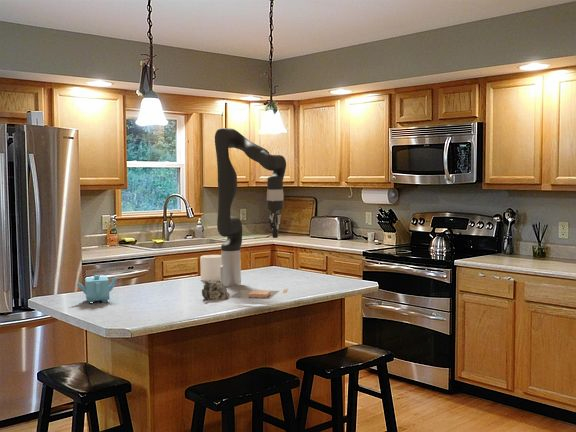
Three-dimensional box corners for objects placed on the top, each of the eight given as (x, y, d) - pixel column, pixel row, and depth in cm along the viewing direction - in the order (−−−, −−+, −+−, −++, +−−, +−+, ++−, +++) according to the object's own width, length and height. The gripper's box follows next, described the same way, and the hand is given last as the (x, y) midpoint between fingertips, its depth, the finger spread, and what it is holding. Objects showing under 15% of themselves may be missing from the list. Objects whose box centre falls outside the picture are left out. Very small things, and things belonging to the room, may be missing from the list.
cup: (222, 281, 322) (221, 257, 321) (199, 281, 322) (198, 257, 321) (225, 277, 333) (224, 254, 333) (202, 277, 334) (202, 254, 333)
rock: (200, 306, 269) (213, 289, 267) (194, 292, 277) (207, 275, 274) (225, 315, 277) (238, 297, 274) (219, 300, 284) (231, 284, 282)
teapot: (76, 299, 280) (75, 274, 279) (118, 296, 286) (117, 271, 285) (78, 306, 265) (77, 279, 264) (122, 303, 271) (121, 276, 270)
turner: (281, 291, 294) (281, 288, 293) (291, 291, 293) (291, 288, 293) (276, 298, 278) (276, 295, 278) (287, 298, 277) (286, 295, 277)
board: (229, 299, 275) (229, 297, 275) (240, 291, 293) (240, 289, 292) (270, 301, 271) (270, 298, 271) (279, 293, 289) (279, 290, 289)
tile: (252, 294, 282) (248, 297, 274) (252, 290, 282) (248, 293, 274) (270, 294, 281) (266, 298, 273) (270, 290, 280) (266, 294, 273)
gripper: (270, 198, 296) (271, 236, 297) (263, 200, 283) (263, 239, 284) (286, 198, 294) (286, 236, 295) (279, 200, 281) (279, 239, 282)
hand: (275, 237), depth 290 cm, fingers closed
